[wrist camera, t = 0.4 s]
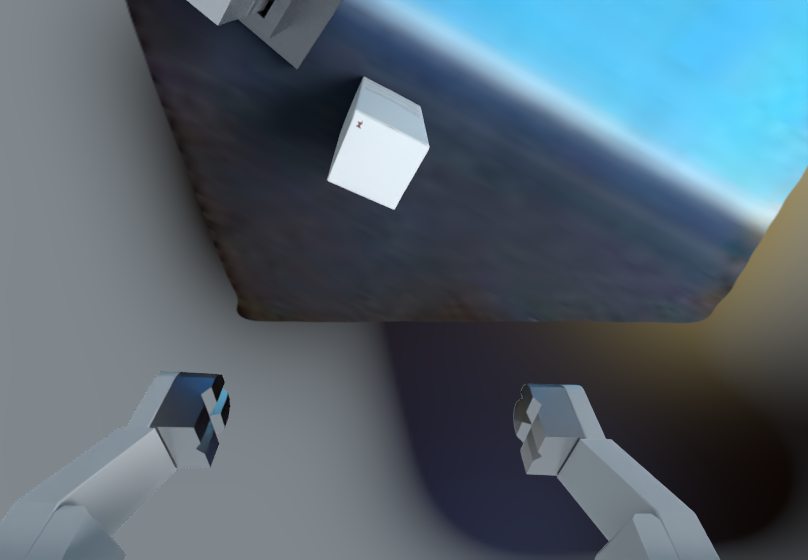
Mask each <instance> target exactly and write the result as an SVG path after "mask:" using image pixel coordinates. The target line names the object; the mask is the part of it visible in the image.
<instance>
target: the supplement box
mask: <svg viewBox="0 0 808 560" xmlns="http://www.w3.org/2000/svg"><path fill="white" fill-rule="evenodd" d="M428 150H429V143H428V139H427V134H426V130H425V125H424V120H423V116H422V111H421V107H420V106H419V105H417V104H415V103H413V102H412V101H410V100H408V99H406V98H404V97H402V96H400V95H398V94H397V93H395V92H393V91H391V90H389V89H387V88H385V87H383V86H381V85H379V84H377V83H375V82H374V81H372V80H370V79H368V78H366V77H363V78H362V81H361V83H360V85H359V88H358V90H357V92H356V95H355V97H354V99H353V102H352V104H351V106H350V109H349V111H348V114H347V116H346V119H345V121H344V124H343V127H342V130H341V132H340V135H339V139H338V143H337V146H336V150H335V153H334V156H333V160H332V163H331V167H330V171H329V174H328V178H327V181H329V182H331V183H333V184H336V185H338V186H340V187H343V188H345V189H347V190H349V191H352V192H354V193H356V194H359V195H361V196H363V197H366V198H368V199H370V200H372V201H375V202H377V203H379V204H382V205H384V206H386V207H389V208H391V209H393V210H394V209H395V208H396V206H397V204H398V202H399V200H400V198H401V197H402V195H403V193H404V191H405V190H406V188H407V186H408V184H409V183H410V181H411V179H412V177H413V176H414V174H415V172H416V171H417V169H418V167H419V165H420V164H421V162H422V160H423V158H424V157H425V155H426V153H427V152H428Z"/></svg>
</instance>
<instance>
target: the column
mask: <svg viewBox="0 0 808 560" xmlns="http://www.w3.org/2000/svg"><path fill="white" fill-rule="evenodd" d="M187 1H188V2H189V3H191V4H192V5H193V6H194V7H196V8H197V9H198V10H199V11H200V12H202V13H203V14H204V15H205V16H207V17H208V18H209V19H210V20H211V21H213V22H214V23H215V24H216V25H218V26H219V25H222V24H224V23H227V22H230V21H233V20H236V19H239V18H242V17H245V16H246V17H248V16H250V14H253V13H256V12H259V11H262V10H265V9H268V8H270V7H271V6H272V4H273V2H274V1H275V0H187Z"/></svg>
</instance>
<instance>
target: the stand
mask: <svg viewBox="0 0 808 560" xmlns="http://www.w3.org/2000/svg"><path fill="white" fill-rule="evenodd" d="M342 2H343V0H275V1H274V2H273V4H272V6H271V7H270V8H268V9H265V10H262V11H259V12H256V13H253V14H250V16H248V17H246V16H245V17H242V18H239V19H238V20H239V21H241V22H242V23H243V24H244V25H245V26H247V27H248V28H249V29H250V30H251V31H252V32H254V33H255V34H256V35H257V36H258V37H260V38H261V39H262V40H263V41H264V42H265V43H267V44H268V45H269V46H270V47H271V48H273V49H274V50H275V51H276V52H277V53H278V54H280V55H281V56H282V57H283V58H284V59H286V60H287V61H288V62H289V63H290V64H291V65H293V66H294V67H295V68H296V69H298V68H299V67H300V66H301V64H302V63H303V61H304V60H305V58H306V57H307V55H308V54H309V52H310V51H311V49H312V48H313V46H314V44H315V43H316V41H317V40H318V38H319V37H320V35H321V34H322V32H323V31H324V29H325V28H326V26H327V25H328V23H329V22H330V20H331V19H332V17H333V15H334V14H335V12H336V11H337V9H338V8H339V6H340V5H341V3H342Z"/></svg>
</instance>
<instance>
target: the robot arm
mask: <svg viewBox="0 0 808 560" xmlns="http://www.w3.org/2000/svg"><path fill="white" fill-rule="evenodd" d="M224 384H225V381H224V378H223V375H222V374H205V373H187V372H166V371H161V372H160V373H159V374H157V375H156V376H155V377H154V379H153V381H152V383H151V384H150V386H149V388H148V390H147V391H146V393H145V395H144V396H143V398H142V400H141V402H140V403H139V405H138V407H137V409H136V410H135V412H134V414H133V415H132V417H131V419H130V421H129V422H128V424H127V426H126V427H119V428H118V429H116V430H115V431H114V432H112V433H111V434H110V435H108V436H106V437H105V438H104V439H102V440H101V441H99V442H98V443H97V444H95V445H94V446H93V447H91V448H90V449H88V450H87V451H86V452H84V453H83V454H81V455H80V456H79V457H77V458H76V459H74V460H73V461H72V462H70V463H69V464H67V465H66V466H65V467H64V468H62V469H60V470H59V471H58V472H56V473H55V474H53V475H52V476H51V477H50V478H48V479H47V480H45V481H44V482H42V483H41V484H40V485H38V486H37V487H35V488H34V489H33V490H31V491H30V492H28V493H27V494H26V495H24V496H23V497H21V498H20V499H19V500H17V501H16V502H14V504H13V505H12V507H11V508H10V510H9V511H8V512H7V514H6V515H5V517H4V518H3V519H2V521H1V522H0V560H124V558H125V556H126V555H125V552H124V550H123V548H122V547H121V546H120V545H119V544H118V543H117V542H116V541H115V540H114V538H113V537H112V535H113V534H114V533H115V532H116V531H117V530H118V529H119V528H120V527H121V526H122V525H123V524H124V523H125V522H126V521H127V520H128V519H129V518H130V517H131V516H132V515H133V514H134V512H136V511H137V510H138V509H139V508H140V507H141V506H142V505H143V504H144V503H145V501H146V500H147V499H148V498H149V497H150V496H151V495H152V494H153V493H154V492H155V491H156V490H157V489H158V488H159V487H160V486H161V485H162V484H163V483H164V482H165V481H166V480H167V479H168V478H169V477H170V476H171V475H172V474H173V473H174V472H175V471H176V468H210V467H211V465H212V462H213V459H214V456H215V454H216V451H217V448H218V446H219V441H218V439H217V434H219V433H220V432H221V431H222V430H223V429H224V428H225V426H226V424H227V421H228V418H229V412H230V398H229V394H228V392H226V391H225V390H223V386H224ZM521 395H522V399H520V400H519V401H517V402H516V405H515V408H514V427H515V431H516V435H517V436H518V437H519V438H520V439H521V441H522V442H523V443H524V444H523V446H522V448H521V450H520V451H521V455H522V458H523V462H524V466H525V470H526V474H536V475H557V476H558V477H557V478H558V479H559V480H560V481H561V482H562V484H563V485H564V486H565V488H567V490H568V491H569V492H570V494H571V495H572V496H573V497H574V499H575V500H576V501H577V502H578V503H579V505H580V506H581V507H582V508H583V510H584V511H585V512H586V513H587V515H588V516H589V517H590V518H591V520H592V521H593V522H594V523H595V524H596V526H597V527H598V528H599V529H600V531H601V532H602V533H603V534H604V536H605V537H606V538H607V539H608V541H609V542H608V543H607V544H606V545H605V546H604V547H603V548H602V549H601V551H600V552H599V553H598V554H597V556H596V557H595V560H720V559H719V557H718V555H717V553H716V551H715V550H714V548H713V546H712V544H711V542H710V540H709V538H708V537H707V535H706V533H705V531H704V529H703V527H702V526H701V524H700V522H699V520H698V518H697V516H696V514H695V513H694V512H693V511H692V510H691V509H690V508H688V507H687V506H686V505H685V504H684V503H683V502H682V501H680V500H679V499H678V498H677V497H676V496H675V495H674V494H672V493H671V492H670V491H669V490H668V489H667V488H666V487H665V486H663V485H662V484H661V483H660V482H659V481H658V480H656V479H655V478H654V477H653V476H652V475H651V474H650V473H649V472H648V471H646V470H645V469H644V468H643V467H642V466H641V465H640V464H638V463H637V462H636V461H635V460H634V459H633V458H632V457H630V456H629V455H628V454H627V453H626V452H625V451H624V450H622V449H621V448H620V447H619V446H618V445H617V444H616V443H615V442H613V441H612V440H611V439H610V440H609V439H605V436H604V434H603V432H602V430H601V427H600V425H599V423H598V421H597V419H596V417H595V415H594V412H593V410H592V407H591V405H590V403H589V401H588V398H587V396H586V394H585V392H584V390H583V388H582V387H581V386H579V385H559V384H525V385H524V386H523V387H522V390H521Z"/></svg>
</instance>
